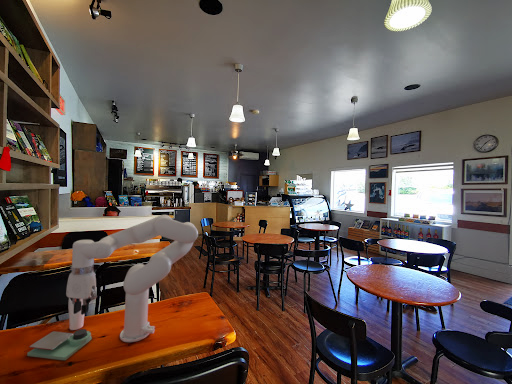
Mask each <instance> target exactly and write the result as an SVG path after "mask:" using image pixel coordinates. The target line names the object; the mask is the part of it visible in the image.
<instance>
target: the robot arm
mask: <svg viewBox="0 0 512 384" xmlns="http://www.w3.org/2000/svg"><path fill="white" fill-rule="evenodd" d="M159 236H160V237H163V238H165V239H169V240H172V242H171V243H170V244H169V245H167V246H165V247H164V248H162V249H160V250H159V251H157V252H156V253H153V254H151V256H150V258H149V261H148V262H147V263H146V264H143V263H137V264H134V265H132V266H131V267H130V268H129V269H128V270H127V272H126V275H125V278H124V280H123V284H122V285H123V286H122V287H123V291H124V292H125V298H124V299H125V301H124V322H123V329H122V330H121V331H120V333H119V339H120V341H121V342H124V343H135V342H139V341H142V340H143V339H145V338H147V337H148V336H149V335H150V334H152V335H153V334H155V330H156V326H155V325H151V324H150V321H148V319H149V318H148V317H149V316H148V315H149V296H150V288H152V287H153V286H155V285H157V284H158V283H160V282H161V281H162V280H163V279H165V278H166V277H167V276H168V275H169V273H170V272H171V269H172V265H173V264H175V263H176V262H178V261H179V260H181V259H182V258H183V257H185V256H186V255H187V254H188V253H189V252H190V251H191V249H192V248H193V245H194V243H195V241H196V240H197V239H198V237H199V231H198V229H197V227H196V226H195V224H194V223H192V222H190V221H186V222H182V221H178V220H175V219H173V218H172V217H171V216H170V215H168V214H161V215H158V216H156V217H155V216H154V217H153V218H151V219H148V220H146V221H143V222H140V223H138V224H135V225H133V226H130V227H127V228H125V229H122V230H119V231H117V232H113V233H112V234H109V235H107V236H105V237H102V238H100V240H99V241H94V240H93V239H79V240H76V241H74V242H73V244H72V252H71V254H72V257H71V259H72V260H71V266H70V270H71V272H70V273H69V275H68V278H67V283H66V289H65V290H66V292H65V295H66V297H67V298H68V299H69V298H70V299H71V301H72V304H74V312H73V313H74V314H76V313H77V312H79V311H81V314H82V315H83V314H85V315H86V314H87V313H88V312H89V311H90V310H89V309H90V303H91V302H92V301H94V300H95V299H97V298H98V295H97V293H96V292H97V278H96V273H95V270H94V269H95V266H94V265H95V259H98V260H105V259H107V258H110V256H111V255H112V254H113V253H114V251H116V250H119V249H120V248H124V247H126V246H129V245H132V244H142V243H145V242H147V241H149V240H152V239H154V238H156V237H159ZM80 299H83V305H82V306H81V301H80ZM86 299H87V300H86Z"/></svg>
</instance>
